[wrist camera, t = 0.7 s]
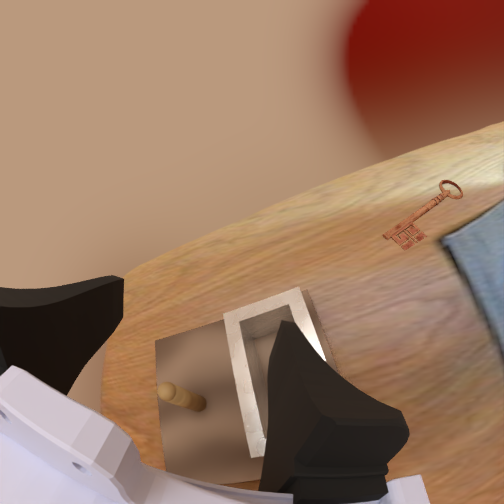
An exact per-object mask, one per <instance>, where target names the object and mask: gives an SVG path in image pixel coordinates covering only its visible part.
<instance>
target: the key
mask: <svg viewBox="0 0 504 504" xmlns="http://www.w3.org/2000/svg"><path fill="white" fill-rule="evenodd" d="M444 183H449V184H452V185H454V186H456V187H457V188H458V189H459V190H460V192H461V195H459V196H454V195H451V194H449V193H450V190H446V191H445V190H444V188H443V187H442V184H444ZM439 186H440V189H441V191H442V192H443V193H441V194H439V196H437V197H436V198H433V199H432V200H431V201H430V202H429V203H427V204H426V205H425V206H423V207H422V208H420V209H419V210H418V211H416V212H415V213H413V214H412V215H411V216H409V217H408V218H406V219H405V220H403V221H402V222H401V223H399V224H398V225H396V226H395V227H393V228H392V229H390V230H389V231H387V232H386V233H384V234H383V237H385V238H386V239H387V240H388V239H390V238H392V239H393V240H394V241H395V242H396V243H398V244H399V245H401V244H402V243H404V242H405V241H407V240H408V239H409V238H408V237H407V236H406V235H405V234H404V233H402V234H400V235H399V236H398V237H399V238H400V239H399V238H398V237H397V235H398V234H399V233H401V232H402V231H404V232H405V233H406V234H407V235H408V236H409V237H410V238H411V239H412V240H414V241H415V242H416V243H418V242H417V241H416V240H415V239H414V238H416V239H417V240H418V241H421V240H422V239H424V238H423V237H425V238H426V237H427V236H426V235H425V234H424V233H423V232H422V231H421V232H420V233H419V234H417V235H416V236H415V237H414V238H413V237H412V236H413V235H415V234H416V233H417V232H419V231H420V229H419V228H418V227H417V226H416V225H415V224H414V223H413V222H414V221H415V220H416V219H418V218H419V217H421V216H422V215H423V214H425V213H426V212H427V211H429V210H430V209H431V208H433V207H434V206H435V205H438V203H439V202H441V200H443V199H444V198H445V197H447V196H448V197H450V198H453V199H460V198H462V196H463V192H462V190H461V188H460V187H459V186H458V185H457V184H455V183H454V182H452V181H449V180H442V181H441V182H440V184H439ZM410 226H411V227H410ZM412 226H413V227H414V228H415V229H414V228H413V227H412ZM408 227H410V228H409V229H407V228H408ZM405 229H407V231H408V232H409V233H410V234H411V235H412V236H411V235H410V234H409V233H408V232H406V231H405ZM413 245H415V244H414V243H413V242H412V241H411V240H409V241H408V242H407V243H405V244H404V245H402V246H401V247H402V248H403V249H404V250H406V249H408V248H410V247H411V246H413Z"/></svg>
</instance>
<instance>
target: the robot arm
mask: <svg viewBox="0 0 504 504" xmlns="http://www.w3.org/2000/svg"><path fill="white" fill-rule="evenodd" d="M123 293H124V279H123V278H120V277H117V276H113V275H111V276H104V277H99V278H95V279H91V280H86V281H82V282H77V283H73V284H68V285H62V286H57V287H50V288H41V289H12V288H2V287H0V504H430V502H429V499H428V496H427V493H426V490H425V486H424V484H423V481H422V478H421V475H419V474H418V475H413V476H407V477H402V478H396V479H393V480H390V481H388V482H386V480H385V476H384V475H386V474H387V473H388V471H389V470H388V466H387V463H388V462H389V461H390V460H391V459H392V458H393V457H394V456H395V455H396V454H397V453H398V452H399V451H400V450H401V449H402V447H403V446H404V445H405V443H406V442H407V440H408V437H409V428H408V426H407V424H406V421H405V419H404V417H403V414H402V412H401V411H400V410H397V409H395V408H393V407H391V406H388V405H386V404H384V403H381V402H379V401H377V400H376V399H374V398H372V397H370V396H368V395H367V394H365V393H363V392H362V391H360V390H359V389H357V388H356V387H354V386H353V385H352V384H350V383H349V382H348V381H346V380H345V379H344V378H343V377H341V376H340V375H339V374H338V373H337V372H336V371H335V370H334V369H332V368H331V367H330V366H329V365H328V364H327V363H326V361H325V360H324V359H323V358H322V357H321V356H320V355H319V354H318V352H317V351H316V350H315V349H314V347H313V346H312V345H311V344H310V342H309V341H308V340H307V338H306V337H305V335H304V334H303V333H302V331H301V330H300V328H299V327H298V326H297V324H296V323H294V322H289V321H284V320H281V323H280V326H279V329H278V333H277V336H276V339H275V342H274V345H273V348H272V351H271V354H270V357H269V365H268V374H267V388H268V428H267V437H266V446H265V453H264V461H263V467H262V474H261V480H260V485H259V491H253V490H246V489H239V488H233V487H227V486H222V485H217V484H212V483H207V482H203V481H199V480H195V479H191V478H187V477H183V476H180V475H176V474H173V473H169V472H166V471H163V470H160V469H157V468H154V467H151V466H148V465H146V464H144V463H142V462H141V460H140V454H139V451H138V449H137V447H136V446H135V444H134V442H133V440H132V439H131V437H130V436H129V435H128V434H127V433H126V432H125V431H124V430H123V429H121V428H120V427H119V426H118V425H117V424H116V423H115V422H113V421H111V420H110V419H108V418H106V417H105V416H103V415H101V414H100V413H98V412H97V411H94V410H92V409H91V408H88V407H87V406H85V405H83V404H81V403H79V402H77V401H75V400H73V399H71V398H69V397H68V396H67V394H68V392H69V391H70V389H71V387H72V385H73V384H74V382H75V380H76V378H77V377H78V375H79V374H80V372H81V370H82V369H83V367H84V366H85V365H86V364H87V362H88V361H89V360H90V359H91V357H92V356H93V355H94V354H95V353H96V352H97V351H98V349H99V348H100V347H101V346H102V345H103V344H104V343H105V341H106V340H107V339H108V338H109V337H110V336H111V335H112V333H113V332H114V331H115V329H116V328H117V326H118V325H119V323H120V321H121V320H122V318H123Z"/></svg>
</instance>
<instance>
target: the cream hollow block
mask: <svg viewBox="0 0 504 504" xmlns="http://www.w3.org/2000/svg"><path fill="white" fill-rule="evenodd" d="M223 316H224V322H225V328H226V334H227V339H228V345H229V351H230V356H231V362H232V367H233V373H234V378H235V383H236V388H237V393H238V399H239V404H240V409H241V413H242V418H243V423H244V428H245V432H246V437H247V442H248V446H249V451H250V455H251V458H255V457H263V456H264V453H265V446H266V437H267V428H268V395H267V390H266V386H265V382H264V378H263V374H262V370H261V365H260V361H259V357H258V353H257V348H256V344H255V339H258V338H261V337H264V336H267V335H270V334H273V333H276V332H278V329H279V326H280V323H281V320H284V321H289V322H294V323H296V324H297V326H298V327H299V328H300V330H301V331H302V333H303V334H304V335H305V337H306V338H307V340H308V341H309V342H310V344H311V345H312V346H313V347H314V349H315V350H316V351H317V352H318V354H319V355H320V356H321V357H322V358H323V359H324V360H325V357H324V354H323V351H322V348H321V345H320V343H319V340H318V337H317V334H316V332H315V329H314V326H313V323H312V320H311V318H310V315H309V312H308V310H307V307H306V304H305V302H304V299H303V296H302V293H301V291H300V288H299V287H296V288H294V289H291V290H288V291H286V292H283V293H280V294H277V295H275V296H272V297H269V298H267V299H264V300H261V301H258V302H255V303H253V304H250V305H247V306H244V307H241V308H238V309H235V310H233V311H230V312H227V313H224V314H223ZM325 361H326V360H325Z"/></svg>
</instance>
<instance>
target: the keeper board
mask: <svg viewBox="0 0 504 504" xmlns="http://www.w3.org/2000/svg"><path fill="white" fill-rule="evenodd" d="M301 293H302V296H303V299H304V302H305V304H306V307H307V310H308V312H309V315H310V318H311V320H312V323H313V326H314V329H315V332H316V334H317V337H318V340H319V343H320V345H321V348H322V351H323V354H324V357H325V360H326V363H327V364H328V365H329V366H330V367H331V368H332V369H334V370H335V371H336V372H337V373H338V370H337V367H336V364H335V362H334V359H333V356H332V353H331V351H330V348H329V345H328V342H327V340H326V337H325V334H324V332H323V329H322V326H321V324H320V321H319V319H318V316H317V313H316V311H315V308H314V306H313V303H312V300H311V298H310V295H309V293H308V290H304V291H302V292H301ZM277 333H278V332H276V333H273V334H270V335H267V336H264V337H261V338H258V339H255V344H256V348H257V353H258V357H259V361H260V365H261V370H262V374H263V378H264V382H265V386H266V390H267V395H268V388H267V374H268V365H269V357H270V354H271V351H272V348H273V345H274V342H275V339H276V336H277ZM155 350H156V376H157V392H158V406H159V417H160V427H161V436H162V444H163V452H164V459H165V466H166V472H169V473H173V474H176V475H180V476H183V477H187V478H191V479H195V480H199V481H203V482H207V483H212V484H217V485H218V484H229V483H238V482H246V481H253V480H260V479H261V474H262V467H263V461H264V456H263V457H255V458H251V455H250V451H249V446H248V442H247V437H246V432H245V428H244V423H243V418H242V413H241V409H240V404H239V399H238V393H237V388H236V383H235V378H234V373H233V367H232V362H231V356H230V351H229V345H228V339H227V334H226V328H225V322H224V319H223V320H220V321H217V322H214V323H211V324H208V325H205V326H202V327H199V328H195V329H192V330H189V331H186V332H183V333H179V334H176V335H173V336H169V337H166V338H163V339H159V340H156V341H155ZM338 374H339V373H338Z"/></svg>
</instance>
